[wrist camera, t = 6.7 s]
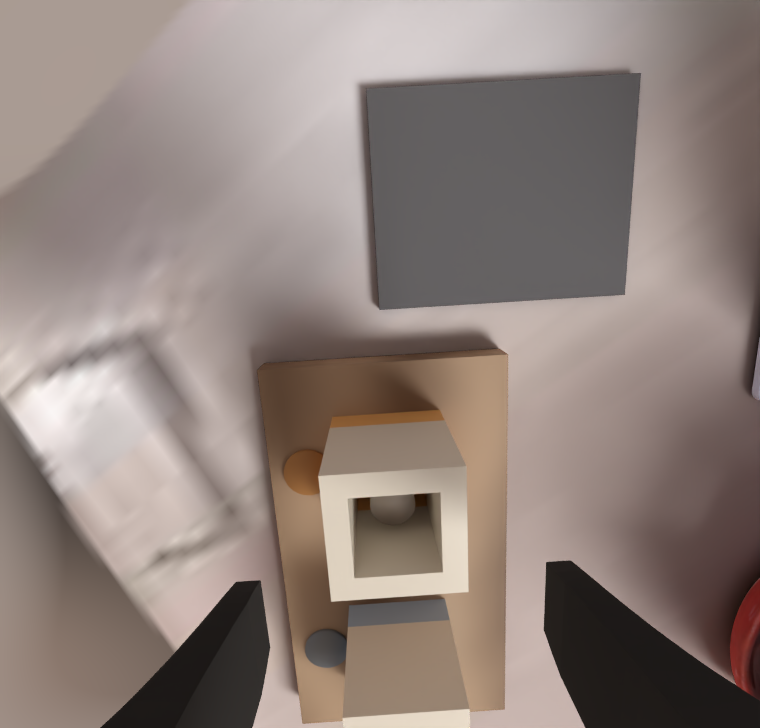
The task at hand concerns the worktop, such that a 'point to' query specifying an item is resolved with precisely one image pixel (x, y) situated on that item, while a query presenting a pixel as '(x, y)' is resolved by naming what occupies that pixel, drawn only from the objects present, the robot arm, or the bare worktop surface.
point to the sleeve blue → (403, 668)
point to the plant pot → (747, 643)
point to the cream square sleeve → (387, 478)
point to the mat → (502, 189)
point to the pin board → (485, 500)
